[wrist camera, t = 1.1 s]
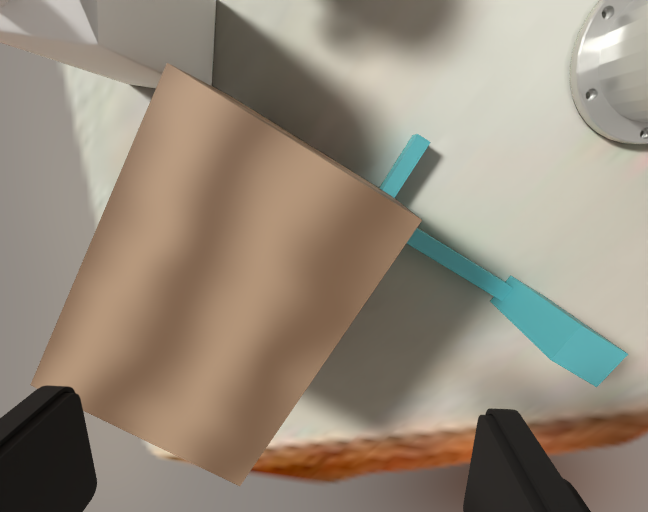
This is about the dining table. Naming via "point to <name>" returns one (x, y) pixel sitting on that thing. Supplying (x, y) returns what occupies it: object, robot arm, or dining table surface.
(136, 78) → the milk carton
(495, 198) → the dining table surface
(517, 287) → the scraper
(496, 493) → the robot arm
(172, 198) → the cabinet
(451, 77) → the dining table surface
